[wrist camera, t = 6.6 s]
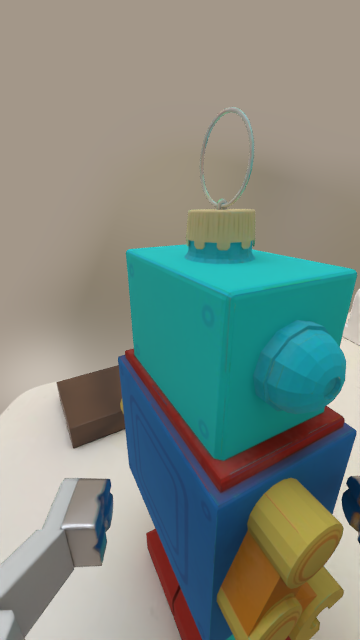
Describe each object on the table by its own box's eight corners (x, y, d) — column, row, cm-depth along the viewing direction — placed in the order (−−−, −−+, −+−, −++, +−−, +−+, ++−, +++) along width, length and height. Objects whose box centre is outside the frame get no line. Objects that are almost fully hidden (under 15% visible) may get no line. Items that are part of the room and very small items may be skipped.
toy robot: (321, 686, 14) (598, 38, 5) (222, 795, 12) (389, -162, 2) (200, 494, 24) (210, 149, 14) (131, 530, 21) (85, 138, 12)
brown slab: (73, 448, 28) (69, 429, 27) (59, 398, 35) (56, 381, 34) (254, 379, 39) (256, 363, 38) (215, 351, 46) (216, 338, 45)
